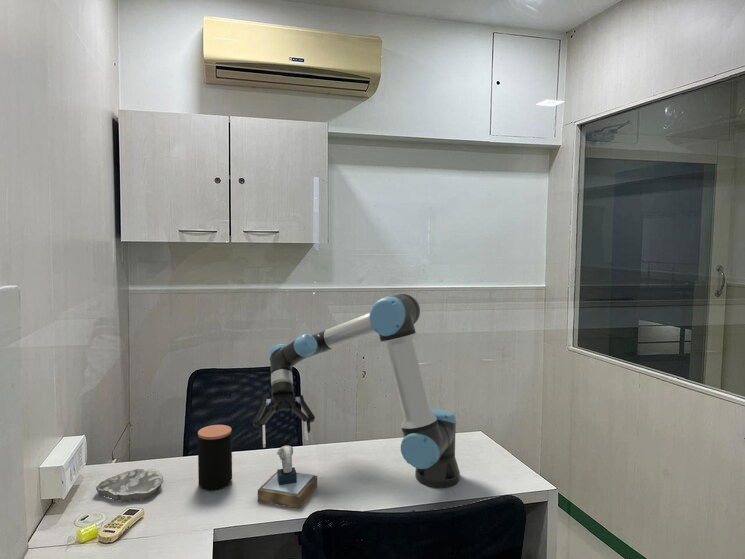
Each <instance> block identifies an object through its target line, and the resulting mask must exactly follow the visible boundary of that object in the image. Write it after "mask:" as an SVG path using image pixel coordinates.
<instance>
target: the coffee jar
mask: <svg viewBox="0 0 745 559" xmlns="http://www.w3.org/2000/svg"><path fill="white" fill-rule="evenodd" d="M232 431H233V430H232V427H231V426H229V425H226V424H213V425H208V426H205V427H204V426H203V427H202V428H200V429H199V430H198V431H197V437H198V438H197V457H198V458H197V464H198V465H197V466H198V467H197V469H198V470H197V472H198V474H197V475H198V485H199V487H200V488H201V489H202V490H204V491H218V490H222V489H225V488H226V487H228V486H229V485H230V483H231V482H232V479H233V447H232V446H233V437H232Z"/></svg>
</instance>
